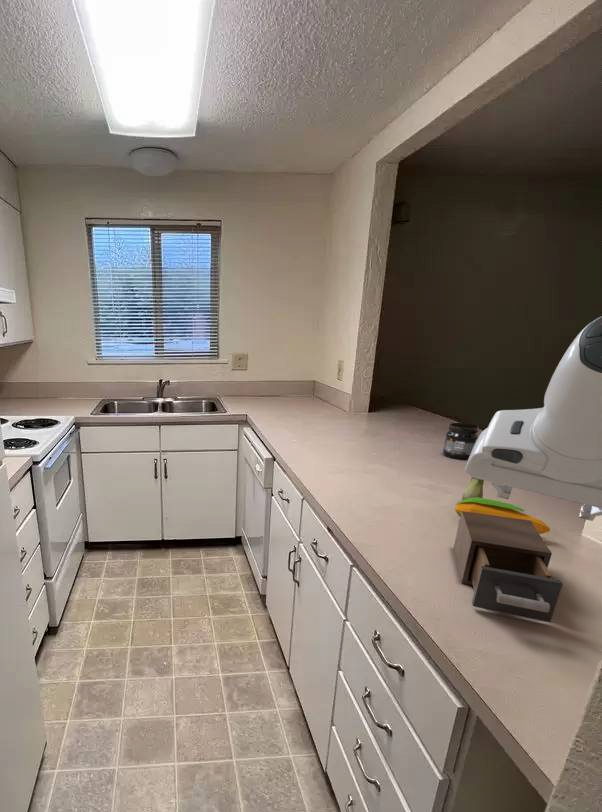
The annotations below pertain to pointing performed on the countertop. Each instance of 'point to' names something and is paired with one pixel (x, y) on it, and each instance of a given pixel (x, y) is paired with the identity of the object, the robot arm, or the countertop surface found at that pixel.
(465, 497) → the fennel bulb
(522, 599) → the drawer
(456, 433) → the supplement container
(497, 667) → the countertop surface
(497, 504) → the corn
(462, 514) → the cabinet
